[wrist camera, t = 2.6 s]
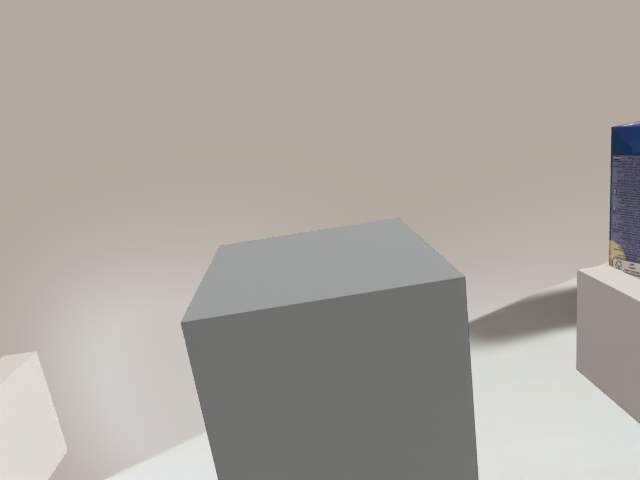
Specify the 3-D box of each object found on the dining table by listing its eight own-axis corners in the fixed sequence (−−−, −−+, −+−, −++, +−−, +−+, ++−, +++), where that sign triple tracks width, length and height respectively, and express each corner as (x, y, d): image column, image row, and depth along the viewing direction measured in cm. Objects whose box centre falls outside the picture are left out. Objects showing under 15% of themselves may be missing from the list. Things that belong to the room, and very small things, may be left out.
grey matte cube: (413, 361, 29) (398, 217, 26) (478, 486, 19) (464, 276, 17) (249, 389, 28) (219, 245, 26) (230, 530, 19) (180, 322, 16)
